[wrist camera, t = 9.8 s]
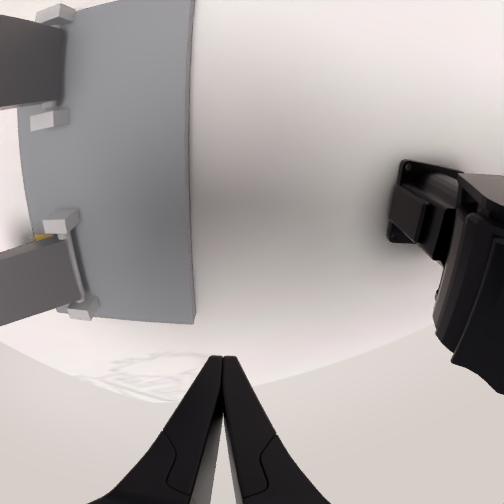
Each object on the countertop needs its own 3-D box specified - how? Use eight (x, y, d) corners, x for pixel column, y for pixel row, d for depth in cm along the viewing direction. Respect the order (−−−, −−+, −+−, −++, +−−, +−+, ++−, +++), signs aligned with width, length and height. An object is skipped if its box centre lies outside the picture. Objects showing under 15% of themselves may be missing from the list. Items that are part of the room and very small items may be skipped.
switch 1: (66, 25, 12) (-34, 2, 3) (62, 105, 15) (-47, 126, 6) (49, 31, 12) (-52, 16, 3) (45, 109, 14) (-62, 134, 6)
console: (195, -5, 13) (186, -25, 10) (195, 312, 25) (190, 341, 22) (32, 31, 13) (5, 27, 10) (63, 302, 24) (48, 325, 21)
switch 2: (70, 233, 18) (-42, 269, 12) (88, 302, 21) (-13, 335, 15) (68, 226, 19) (-38, 260, 14) (84, 292, 22) (-12, 323, 16)
